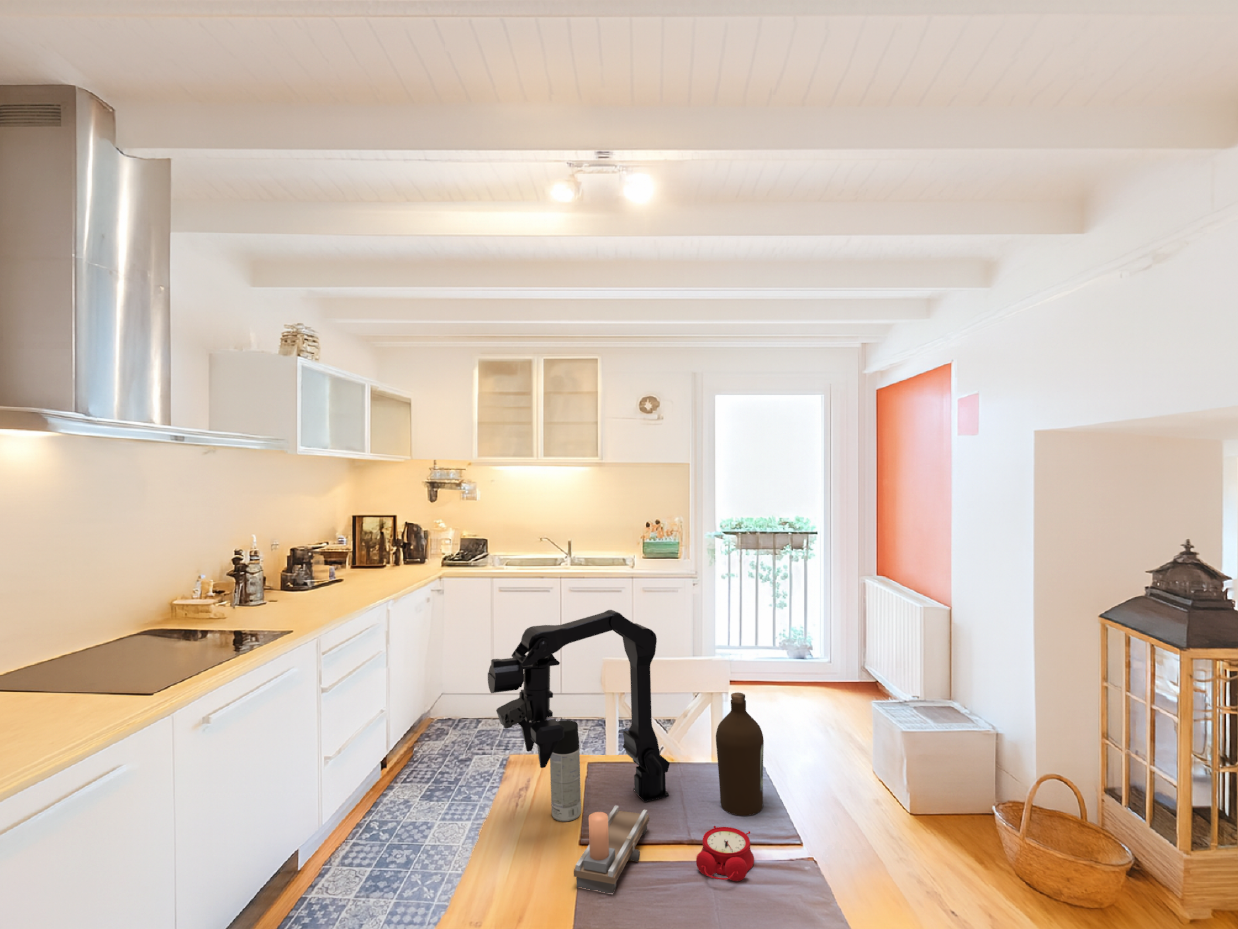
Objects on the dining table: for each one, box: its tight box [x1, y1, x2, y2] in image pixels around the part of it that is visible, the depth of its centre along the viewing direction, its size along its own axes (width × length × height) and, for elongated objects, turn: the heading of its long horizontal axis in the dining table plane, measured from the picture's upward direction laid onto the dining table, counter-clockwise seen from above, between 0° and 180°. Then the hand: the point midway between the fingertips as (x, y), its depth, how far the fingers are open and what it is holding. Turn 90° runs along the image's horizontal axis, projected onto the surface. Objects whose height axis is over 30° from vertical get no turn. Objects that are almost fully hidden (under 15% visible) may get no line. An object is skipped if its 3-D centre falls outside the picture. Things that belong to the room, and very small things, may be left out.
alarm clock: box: [695, 825, 755, 882], centre depth 126 cm, size 10×6×15 cm
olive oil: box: [715, 692, 765, 817], centre depth 147 cm, size 11×11×25 cm
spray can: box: [549, 719, 582, 822], centre depth 146 cm, size 7×7×20 cm
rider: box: [583, 811, 615, 873], centre depth 122 cm, size 5×4×9 cm
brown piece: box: [573, 804, 650, 894], centre depth 129 cm, size 22×10×4 cm, turn 161°
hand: (535, 759), depth 142 cm, fingers open, 9 cm apart
